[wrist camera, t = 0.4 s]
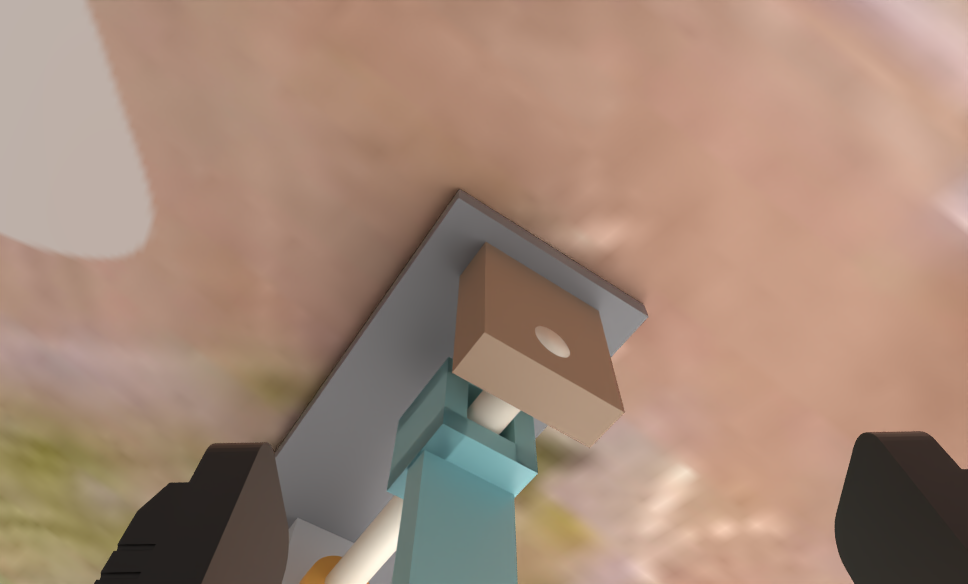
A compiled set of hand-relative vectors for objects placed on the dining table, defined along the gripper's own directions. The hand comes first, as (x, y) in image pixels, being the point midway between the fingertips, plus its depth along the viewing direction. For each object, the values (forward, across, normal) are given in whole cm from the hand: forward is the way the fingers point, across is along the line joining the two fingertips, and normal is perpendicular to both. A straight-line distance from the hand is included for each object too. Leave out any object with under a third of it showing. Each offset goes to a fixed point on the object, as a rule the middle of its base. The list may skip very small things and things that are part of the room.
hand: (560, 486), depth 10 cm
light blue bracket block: (+17, +2, +11) cm, 21 cm away
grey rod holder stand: (+22, +6, +16) cm, 27 cm away
